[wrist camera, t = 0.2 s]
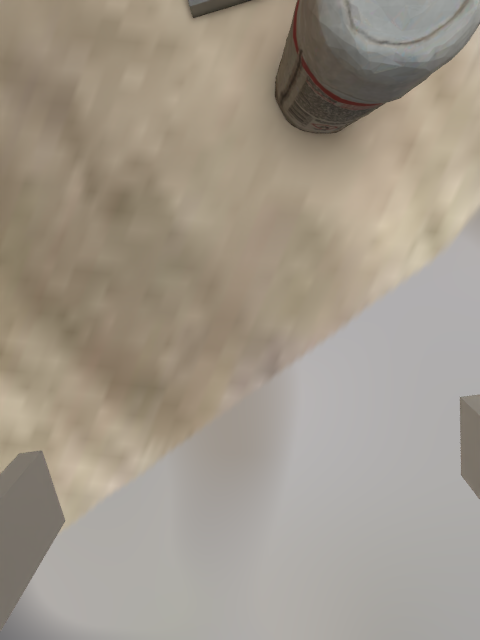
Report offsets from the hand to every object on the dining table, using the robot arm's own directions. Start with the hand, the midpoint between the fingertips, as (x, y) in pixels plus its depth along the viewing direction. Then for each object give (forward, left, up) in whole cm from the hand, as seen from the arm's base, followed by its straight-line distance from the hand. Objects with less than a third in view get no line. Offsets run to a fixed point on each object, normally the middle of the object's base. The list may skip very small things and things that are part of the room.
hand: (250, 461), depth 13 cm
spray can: (-15, +10, -28) cm, 33 cm away
